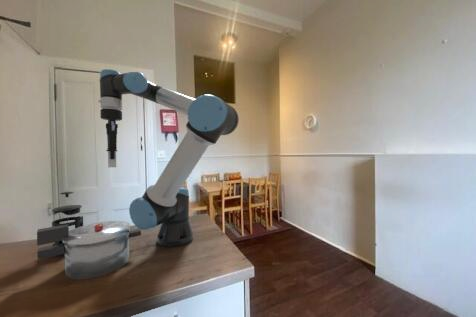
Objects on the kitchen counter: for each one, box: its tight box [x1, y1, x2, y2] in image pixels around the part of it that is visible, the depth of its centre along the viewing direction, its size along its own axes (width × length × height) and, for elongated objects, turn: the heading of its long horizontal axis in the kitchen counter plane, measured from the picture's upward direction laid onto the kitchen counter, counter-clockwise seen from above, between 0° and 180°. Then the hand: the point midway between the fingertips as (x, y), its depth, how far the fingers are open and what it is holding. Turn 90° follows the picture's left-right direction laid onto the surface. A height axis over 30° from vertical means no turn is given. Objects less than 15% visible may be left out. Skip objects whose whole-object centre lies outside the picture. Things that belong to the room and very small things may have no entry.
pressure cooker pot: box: [37, 228, 142, 280], centre depth 69 cm, size 28×18×10 cm, turn 127°
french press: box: [51, 191, 84, 257], centre depth 80 cm, size 12×9×23 cm
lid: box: [36, 220, 131, 246], centre depth 68 cm, size 24×19×5 cm
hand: (112, 167), depth 83 cm, fingers closed
